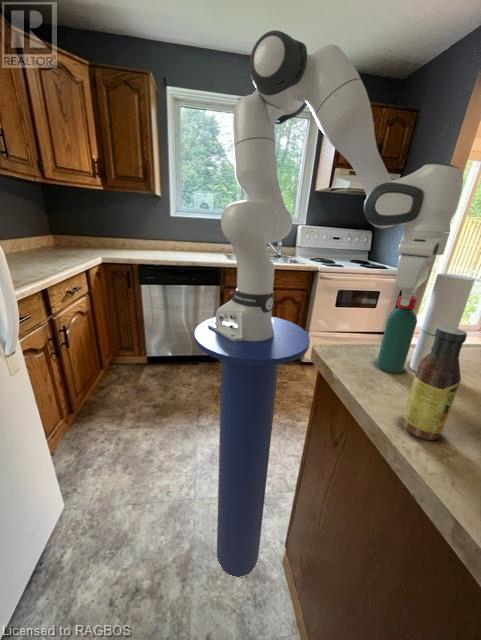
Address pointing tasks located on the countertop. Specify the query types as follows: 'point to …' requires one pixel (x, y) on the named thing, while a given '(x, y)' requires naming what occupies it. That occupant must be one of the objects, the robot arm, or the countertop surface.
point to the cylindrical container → (442, 311)
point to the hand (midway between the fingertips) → (406, 303)
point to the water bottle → (396, 340)
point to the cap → (411, 305)
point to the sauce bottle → (435, 385)
